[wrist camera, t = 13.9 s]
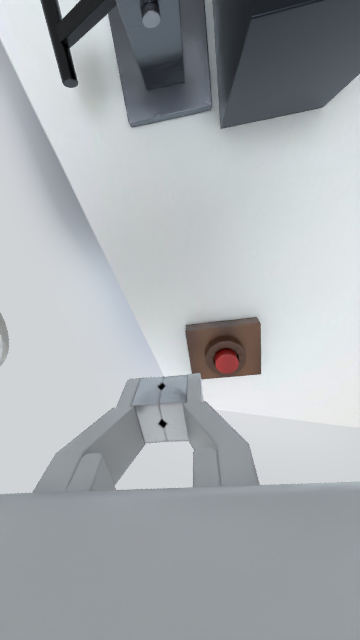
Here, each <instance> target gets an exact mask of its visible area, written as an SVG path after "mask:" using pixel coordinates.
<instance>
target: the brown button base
mask: <svg viewBox="0 0 360 640" xmlns="http://www.w3.org/2000/svg"><path fill="white" fill-rule="evenodd" d="M186 338H187V344H188V350H189V357H190V363H191V370H192V374H195V373H200V374H201V379H210V378H222V377H234V376H246V375H258V374H261V324H260V321H259V320H258V318H248V319H239V320H230V321H221V322H212V323H203V324H194V325H186ZM222 349H231V350H233V351H234V352H235V353H236V355H237V358H238V361H239V365H238V368H237V369H236V370H235V371H234V372H232V373H227V374H226V373H222V372H220V371H218V370H217V368H216V365H215V355H216V353H217V352H218V351H220V350H222Z"/></svg>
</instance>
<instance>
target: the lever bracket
mask: <svg viewBox="0 0 360 640" xmlns="http://www.w3.org/2000/svg"><path fill="white" fill-rule="evenodd" d="M116 3H117V6H115V7H114V8H113V9H112V10H111V11H110V12H109V13H108V15H109V21H110V26H111V31H112V37H113V42H114V47H115V52H116V58H117V63H118V68H119V74H120V79H121V84H122V89H123V95H124V100H125V105H126V111H127V116H128V121H129V124H130V126H131V127H136V126H141V125H145V124H150V123H154V122H159V121H163V120H168V119H172V118H177V117H182V116H186V115H191V114H195V113H200V112H204V111H209V110H211V106H212V101H211V88H210V74H209V60H208V47H207V33H206V19H205V6H204V0H116Z"/></svg>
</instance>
